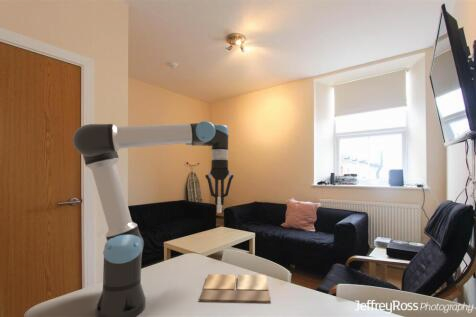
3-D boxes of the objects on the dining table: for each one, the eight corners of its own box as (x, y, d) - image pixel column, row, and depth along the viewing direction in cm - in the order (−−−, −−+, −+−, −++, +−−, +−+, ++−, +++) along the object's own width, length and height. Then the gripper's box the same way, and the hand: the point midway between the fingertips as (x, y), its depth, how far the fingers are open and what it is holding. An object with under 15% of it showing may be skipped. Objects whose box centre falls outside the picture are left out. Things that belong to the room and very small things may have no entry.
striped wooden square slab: (203, 292, 94) (203, 288, 94) (208, 277, 106) (208, 274, 106) (234, 293, 93) (234, 289, 94) (235, 278, 105) (235, 274, 106)
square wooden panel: (237, 293, 93) (237, 289, 93) (238, 278, 105) (238, 274, 105) (268, 293, 93) (268, 289, 93) (265, 278, 105) (265, 275, 105)
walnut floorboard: (199, 303, 86) (199, 299, 86) (203, 293, 93) (203, 289, 93) (270, 305, 85) (270, 300, 85) (268, 294, 93) (268, 290, 93)
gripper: (204, 159, 107) (203, 213, 105) (233, 159, 106) (233, 213, 105) (206, 159, 114) (206, 210, 113) (234, 159, 114) (234, 211, 112)
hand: (219, 212), depth 109 cm, fingers closed
